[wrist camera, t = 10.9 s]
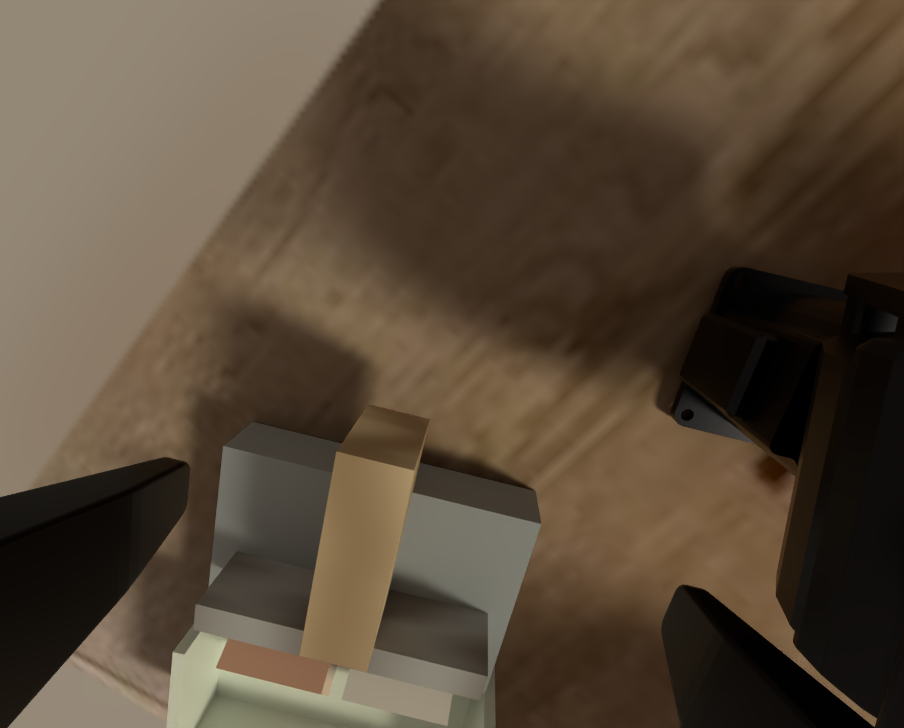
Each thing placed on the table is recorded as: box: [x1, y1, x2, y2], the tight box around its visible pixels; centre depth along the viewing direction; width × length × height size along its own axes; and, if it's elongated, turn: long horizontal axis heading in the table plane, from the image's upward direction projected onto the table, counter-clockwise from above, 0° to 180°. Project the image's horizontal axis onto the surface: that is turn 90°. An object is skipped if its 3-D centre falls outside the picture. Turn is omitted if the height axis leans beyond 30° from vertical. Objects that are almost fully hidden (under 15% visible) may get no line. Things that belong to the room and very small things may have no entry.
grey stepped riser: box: [209, 422, 541, 693], centre depth 22 cm, size 13×9×2 cm
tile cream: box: [341, 669, 453, 726], centre depth 22 cm, size 4×4×2 cm
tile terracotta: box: [216, 638, 338, 696], centre depth 22 cm, size 4×4×2 cm
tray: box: [167, 624, 496, 728], centre depth 23 cm, size 14×7×4 cm, turn 77°
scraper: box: [193, 404, 488, 701], centre depth 18 cm, size 11×9×4 cm
